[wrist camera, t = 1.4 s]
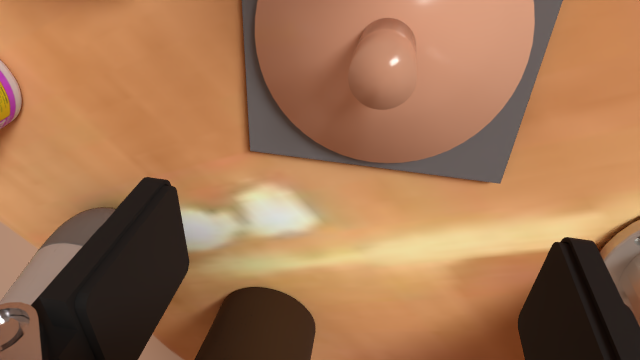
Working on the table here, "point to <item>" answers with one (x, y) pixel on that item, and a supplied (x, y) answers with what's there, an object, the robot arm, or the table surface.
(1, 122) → the supplement bottle
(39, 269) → the smart speaker
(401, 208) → the table surface
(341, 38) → the lid
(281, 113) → the mat
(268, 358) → the olive oil
